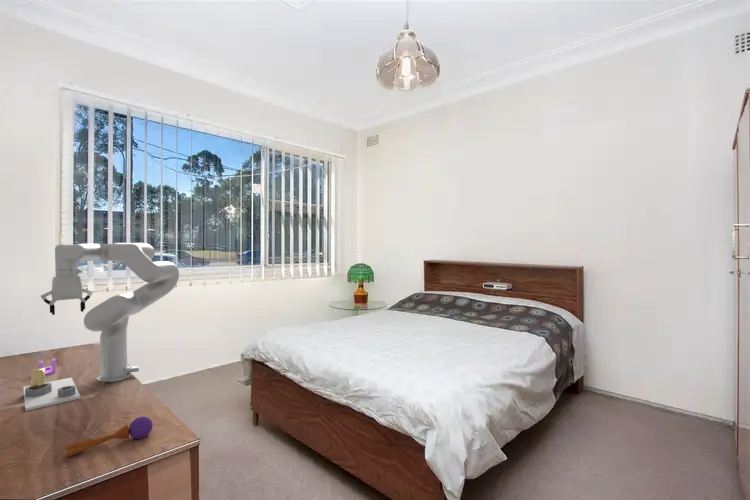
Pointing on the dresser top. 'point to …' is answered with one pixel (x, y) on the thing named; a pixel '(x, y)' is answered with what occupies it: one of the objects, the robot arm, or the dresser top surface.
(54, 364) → the bracket
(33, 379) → the brass pipe fitting
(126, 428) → the kendama
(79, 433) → the dresser top surface
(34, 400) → the fitting board
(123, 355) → the robot arm
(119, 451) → the dresser top surface
